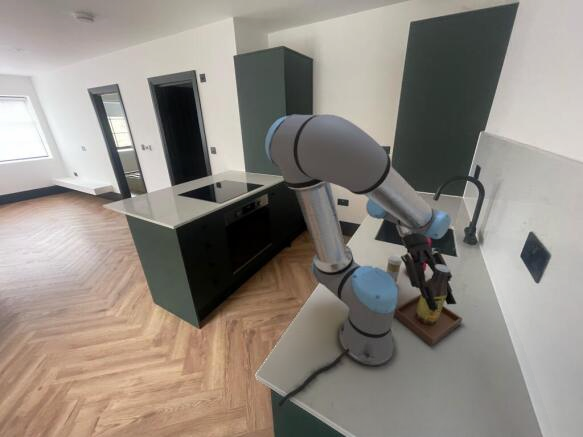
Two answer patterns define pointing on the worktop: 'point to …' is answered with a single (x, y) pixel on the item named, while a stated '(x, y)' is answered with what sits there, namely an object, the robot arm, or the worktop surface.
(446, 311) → the serving tray
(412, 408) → the worktop surface
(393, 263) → the sprinkles bottle
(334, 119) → the robot arm
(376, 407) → the worktop surface
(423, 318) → the sauce bottle
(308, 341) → the worktop surface
